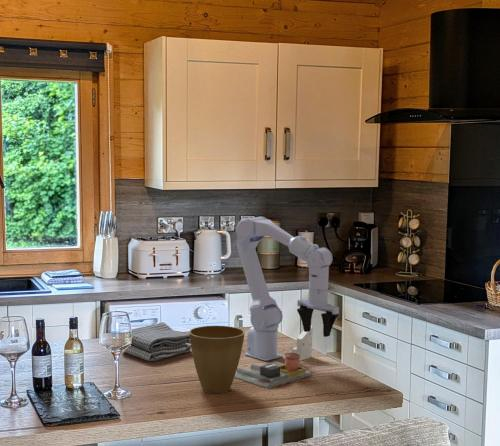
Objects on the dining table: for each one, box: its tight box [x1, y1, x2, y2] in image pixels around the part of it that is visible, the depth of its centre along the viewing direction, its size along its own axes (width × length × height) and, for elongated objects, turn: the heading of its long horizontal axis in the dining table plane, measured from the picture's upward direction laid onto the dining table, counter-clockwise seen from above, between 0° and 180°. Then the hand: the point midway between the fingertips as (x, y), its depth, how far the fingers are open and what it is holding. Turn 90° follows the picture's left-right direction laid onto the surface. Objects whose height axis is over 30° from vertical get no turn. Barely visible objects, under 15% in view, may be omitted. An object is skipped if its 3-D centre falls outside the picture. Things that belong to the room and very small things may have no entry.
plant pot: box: [188, 325, 246, 394], centre depth 204 cm, size 15×15×16 cm
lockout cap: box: [283, 352, 300, 372], centre depth 217 cm, size 5×5×5 cm
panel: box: [234, 360, 312, 389], centre depth 217 cm, size 14×18×2 cm
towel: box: [123, 322, 192, 362], centre depth 238 cm, size 15×18×8 cm
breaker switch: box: [260, 363, 280, 378], centre depth 212 cm, size 4×4×3 cm
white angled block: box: [291, 324, 314, 361], centre depth 237 cm, size 4×10×9 cm, turn 141°
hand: (316, 333), depth 225 cm, fingers open, 7 cm apart
